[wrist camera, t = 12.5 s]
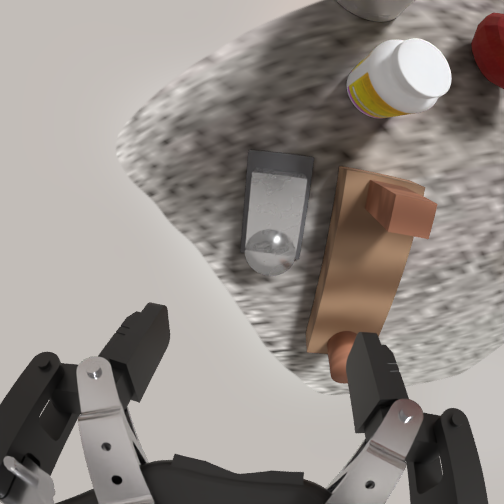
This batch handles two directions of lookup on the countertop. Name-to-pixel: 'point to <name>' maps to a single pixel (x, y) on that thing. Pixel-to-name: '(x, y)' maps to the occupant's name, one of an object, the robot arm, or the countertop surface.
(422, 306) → the countertop surface
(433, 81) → the supplement bottle
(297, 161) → the rubber mat
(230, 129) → the countertop surface
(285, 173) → the lever cap
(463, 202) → the countertop surface
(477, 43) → the apple
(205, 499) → the robot arm
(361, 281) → the plane body
